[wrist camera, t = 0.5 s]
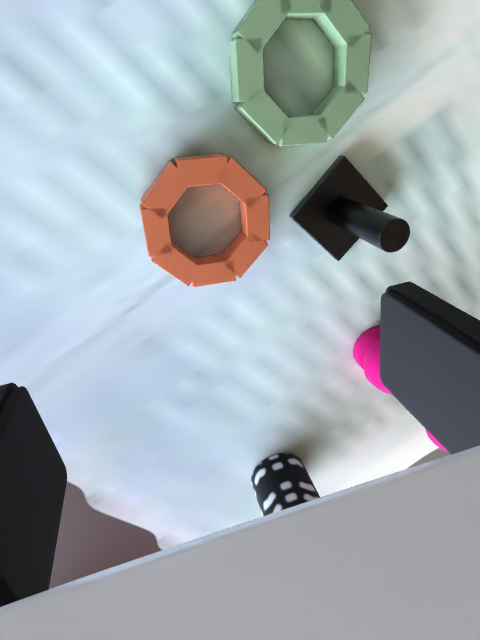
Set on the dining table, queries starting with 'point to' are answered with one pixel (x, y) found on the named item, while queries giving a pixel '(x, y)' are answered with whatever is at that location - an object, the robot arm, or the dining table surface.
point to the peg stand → (348, 213)
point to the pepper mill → (374, 362)
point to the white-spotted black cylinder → (282, 483)
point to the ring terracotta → (168, 193)
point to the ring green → (348, 80)
